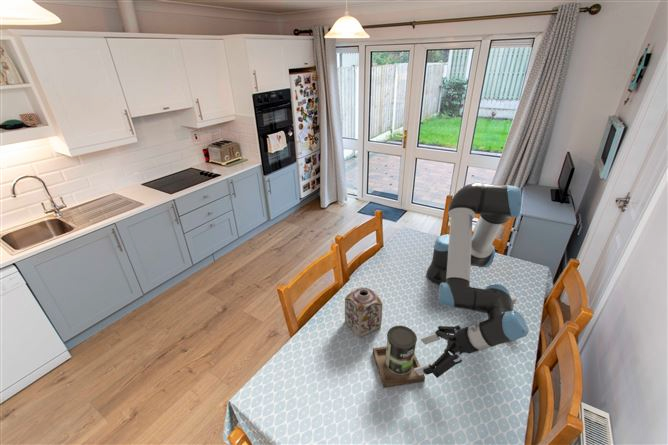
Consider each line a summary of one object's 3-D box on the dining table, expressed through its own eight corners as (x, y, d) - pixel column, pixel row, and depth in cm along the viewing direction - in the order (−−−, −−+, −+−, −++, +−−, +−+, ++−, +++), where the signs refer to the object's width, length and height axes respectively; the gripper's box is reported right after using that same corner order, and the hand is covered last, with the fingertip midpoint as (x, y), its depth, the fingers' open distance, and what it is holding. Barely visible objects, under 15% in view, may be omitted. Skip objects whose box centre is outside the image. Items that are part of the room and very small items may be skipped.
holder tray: (372, 352, 122) (372, 348, 120) (409, 347, 123) (409, 343, 122) (383, 387, 108) (383, 383, 107) (424, 381, 110) (425, 377, 109)
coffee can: (418, 367, 114) (423, 340, 108) (396, 380, 110) (399, 353, 104) (401, 347, 122) (404, 321, 116) (379, 358, 118) (381, 331, 112)
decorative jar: (381, 327, 133) (384, 295, 124) (359, 339, 128) (360, 306, 119) (365, 310, 142) (366, 279, 133) (344, 320, 137) (343, 288, 128)
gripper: (467, 303, 107) (418, 323, 119) (464, 361, 87) (406, 378, 99) (481, 319, 108) (431, 337, 120) (481, 380, 87) (421, 394, 100)
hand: (419, 355), depth 110 cm, fingers open, 13 cm apart
